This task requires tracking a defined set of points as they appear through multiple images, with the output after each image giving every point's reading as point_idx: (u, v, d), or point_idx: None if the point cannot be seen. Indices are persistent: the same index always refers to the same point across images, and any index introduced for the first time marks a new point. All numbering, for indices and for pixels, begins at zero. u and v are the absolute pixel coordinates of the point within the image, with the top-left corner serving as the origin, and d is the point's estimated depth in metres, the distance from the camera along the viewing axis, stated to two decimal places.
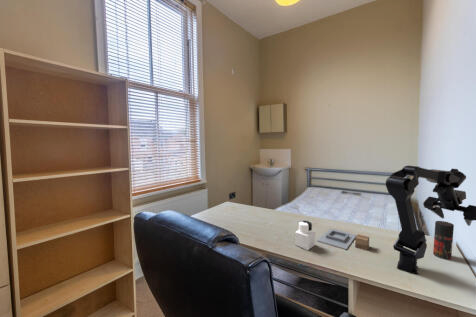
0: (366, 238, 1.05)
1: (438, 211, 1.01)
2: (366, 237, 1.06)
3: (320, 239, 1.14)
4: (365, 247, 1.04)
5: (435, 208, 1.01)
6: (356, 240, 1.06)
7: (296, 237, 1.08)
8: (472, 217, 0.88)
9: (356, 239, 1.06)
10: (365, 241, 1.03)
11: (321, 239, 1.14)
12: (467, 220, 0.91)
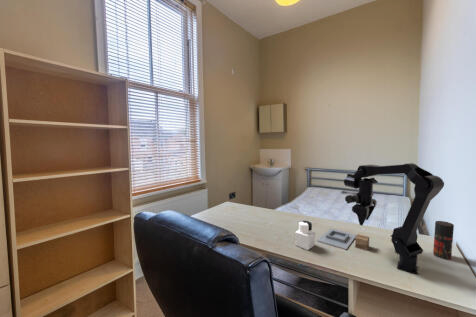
0: (366, 238, 1.05)
1: None
2: (366, 237, 1.06)
3: (320, 239, 1.14)
4: (365, 247, 1.04)
5: None
6: (356, 240, 1.06)
7: (296, 237, 1.08)
8: (376, 202, 1.09)
9: (356, 239, 1.06)
10: (365, 241, 1.03)
11: (321, 239, 1.14)
12: (373, 209, 1.08)
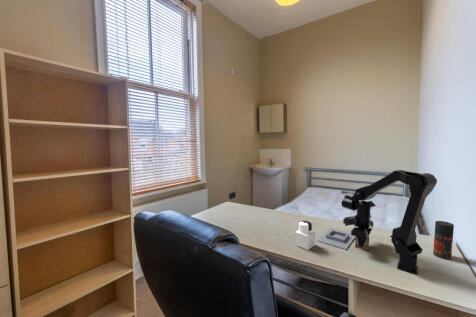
0: None
1: None
2: None
3: (320, 239, 1.14)
4: (365, 247, 1.04)
5: None
6: (356, 240, 1.06)
7: (296, 237, 1.08)
8: (373, 223, 1.10)
9: (356, 239, 1.06)
10: (365, 241, 1.03)
11: (321, 239, 1.14)
12: None
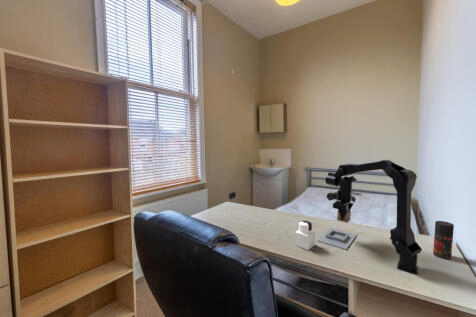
0: None
1: None
2: None
3: (320, 239, 1.14)
4: (346, 219, 1.10)
5: None
6: (338, 214, 1.12)
7: (296, 237, 1.08)
8: (355, 199, 1.16)
9: (338, 212, 1.12)
10: (346, 214, 1.09)
11: (321, 239, 1.14)
12: None
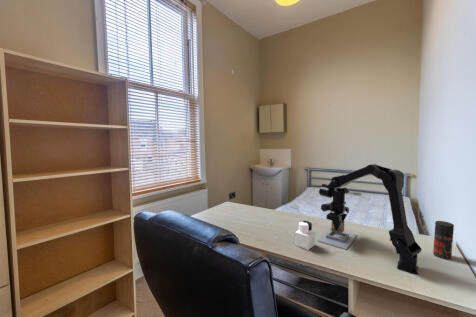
0: (341, 222, 1.14)
1: None
2: None
3: (320, 239, 1.14)
4: (340, 230, 1.12)
5: None
6: (332, 224, 1.15)
7: (296, 237, 1.08)
8: (348, 209, 1.19)
9: (332, 223, 1.15)
10: (340, 225, 1.12)
11: (321, 239, 1.14)
12: (345, 217, 1.16)
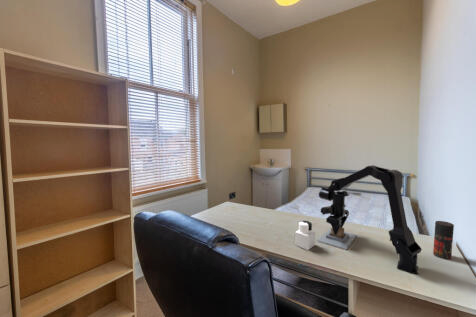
0: (341, 229, 1.14)
1: None
2: (341, 228, 1.15)
3: (320, 239, 1.14)
4: (339, 237, 1.13)
5: None
6: (332, 231, 1.15)
7: (296, 237, 1.08)
8: (348, 213, 1.19)
9: (332, 230, 1.15)
10: (339, 232, 1.13)
11: (321, 239, 1.14)
12: None
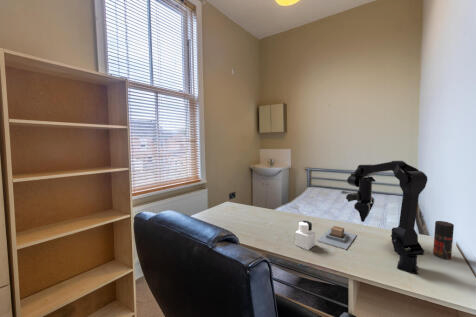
0: (341, 229, 1.14)
1: None
2: (341, 228, 1.15)
3: (320, 239, 1.14)
4: (339, 237, 1.13)
5: None
6: (332, 231, 1.15)
7: (296, 237, 1.08)
8: None
9: (332, 230, 1.15)
10: (339, 232, 1.13)
11: (321, 239, 1.14)
12: None
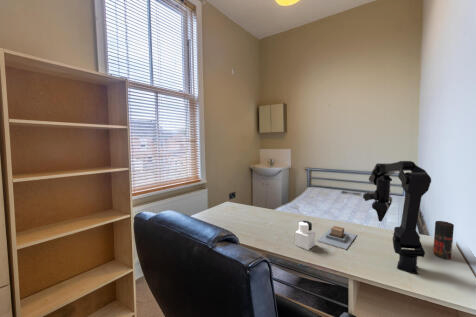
0: (341, 229, 1.14)
1: None
2: (341, 228, 1.15)
3: (320, 239, 1.14)
4: (339, 237, 1.13)
5: None
6: (332, 231, 1.15)
7: (296, 237, 1.08)
8: None
9: (332, 230, 1.15)
10: (339, 232, 1.13)
11: (321, 239, 1.14)
12: None
